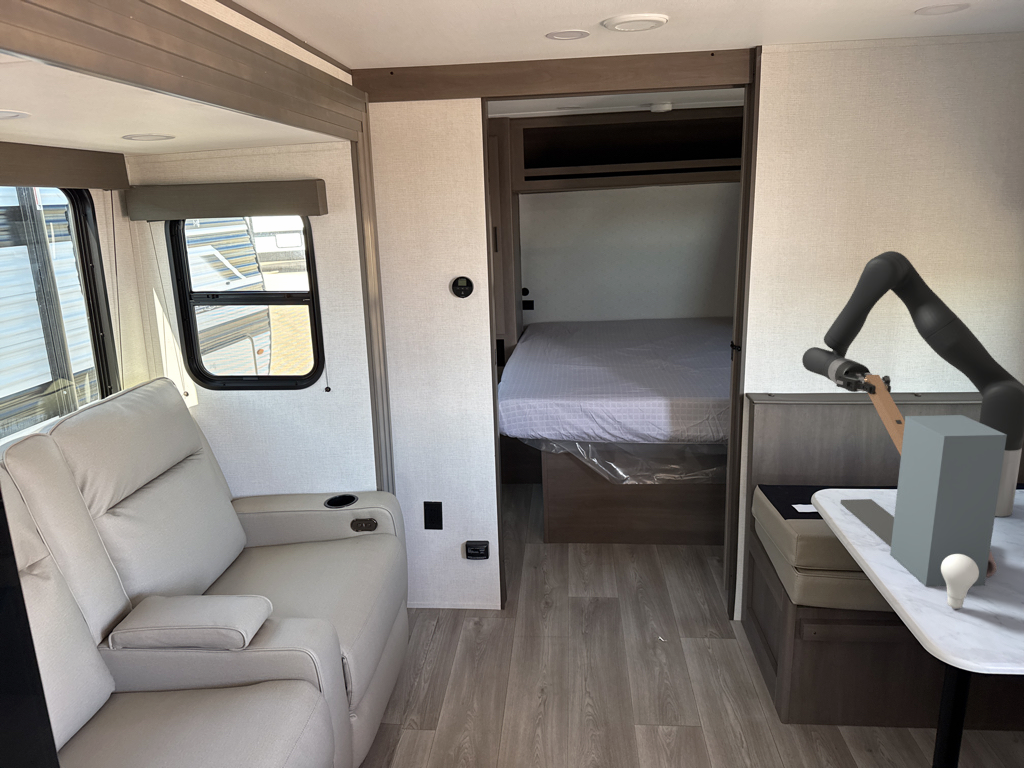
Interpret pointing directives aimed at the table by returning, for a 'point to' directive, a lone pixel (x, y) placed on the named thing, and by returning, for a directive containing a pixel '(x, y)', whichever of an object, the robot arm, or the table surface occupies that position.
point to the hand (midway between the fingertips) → (881, 390)
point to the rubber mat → (872, 517)
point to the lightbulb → (958, 577)
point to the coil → (991, 566)
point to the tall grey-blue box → (946, 494)
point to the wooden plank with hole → (887, 410)
